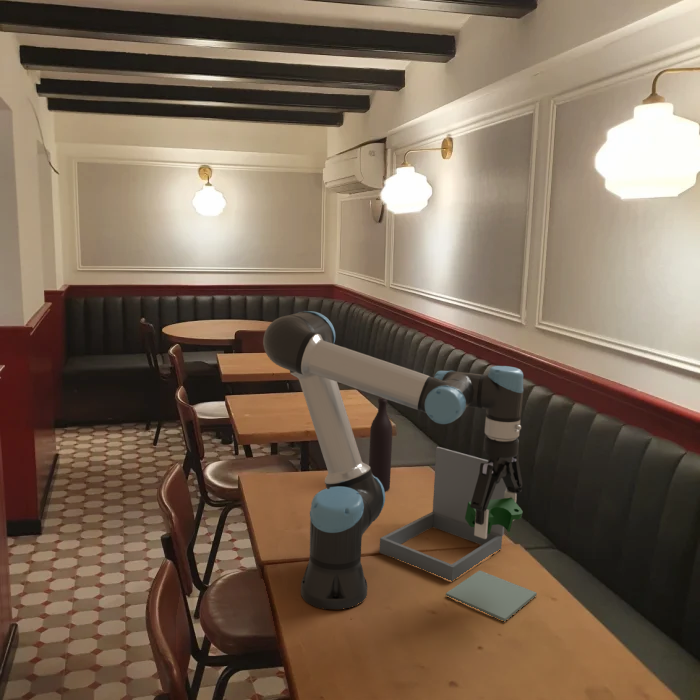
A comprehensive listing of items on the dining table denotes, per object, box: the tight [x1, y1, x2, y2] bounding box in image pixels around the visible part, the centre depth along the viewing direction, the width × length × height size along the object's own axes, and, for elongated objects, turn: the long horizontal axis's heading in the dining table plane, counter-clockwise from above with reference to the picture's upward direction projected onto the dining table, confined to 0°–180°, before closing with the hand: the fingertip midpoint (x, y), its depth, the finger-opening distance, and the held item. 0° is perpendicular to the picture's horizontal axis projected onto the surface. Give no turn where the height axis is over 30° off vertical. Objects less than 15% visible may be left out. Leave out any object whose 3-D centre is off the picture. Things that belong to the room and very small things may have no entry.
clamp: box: [465, 498, 523, 534], centre depth 155 cm, size 12×6×9 cm, turn 102°
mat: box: [445, 570, 537, 621], centre depth 158 cm, size 15×15×1 cm
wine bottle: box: [368, 396, 393, 492], centre depth 219 cm, size 7×7×30 cm
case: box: [378, 446, 508, 581], centre depth 178 cm, size 25×22×23 cm
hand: (495, 527), depth 156 cm, fingers closed on clamp, 12 cm apart
